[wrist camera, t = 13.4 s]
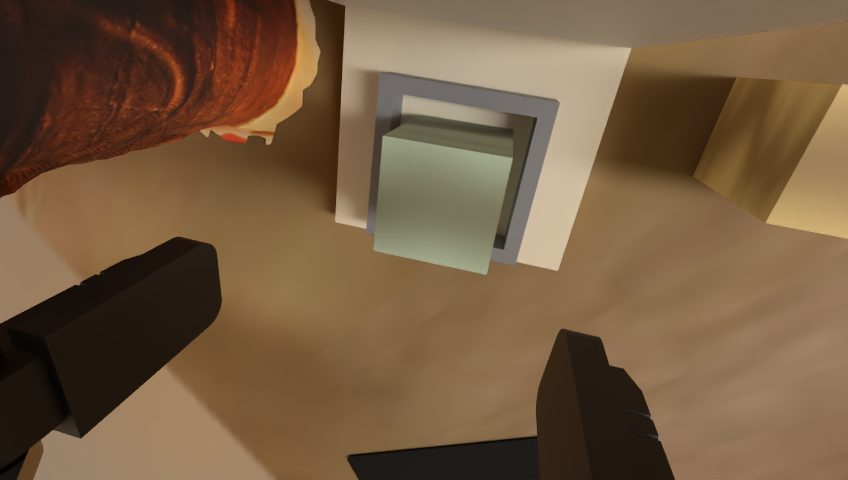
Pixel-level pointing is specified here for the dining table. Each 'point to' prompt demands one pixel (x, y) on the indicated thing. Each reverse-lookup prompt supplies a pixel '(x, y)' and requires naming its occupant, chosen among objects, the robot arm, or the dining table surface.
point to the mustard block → (783, 153)
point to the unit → (517, 89)
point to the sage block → (442, 191)
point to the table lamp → (453, 462)
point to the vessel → (144, 76)
